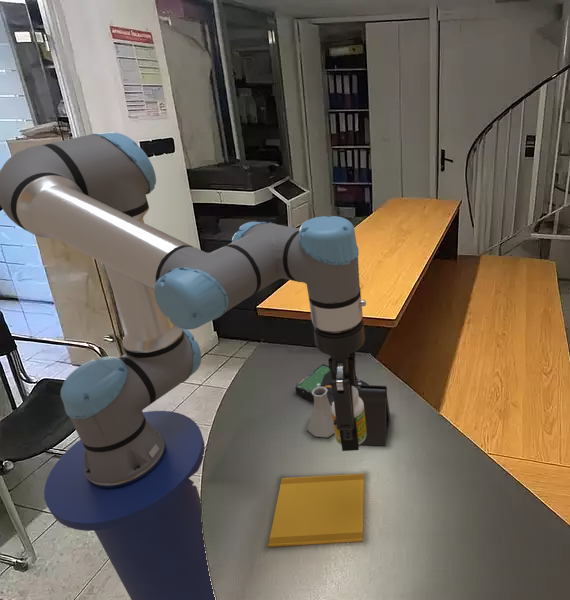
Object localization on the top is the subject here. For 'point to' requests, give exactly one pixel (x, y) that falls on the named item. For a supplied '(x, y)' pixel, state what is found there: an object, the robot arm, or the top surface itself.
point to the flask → (321, 414)
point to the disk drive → (319, 383)
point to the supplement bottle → (358, 414)
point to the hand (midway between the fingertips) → (351, 435)
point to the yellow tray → (319, 510)
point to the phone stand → (375, 413)
